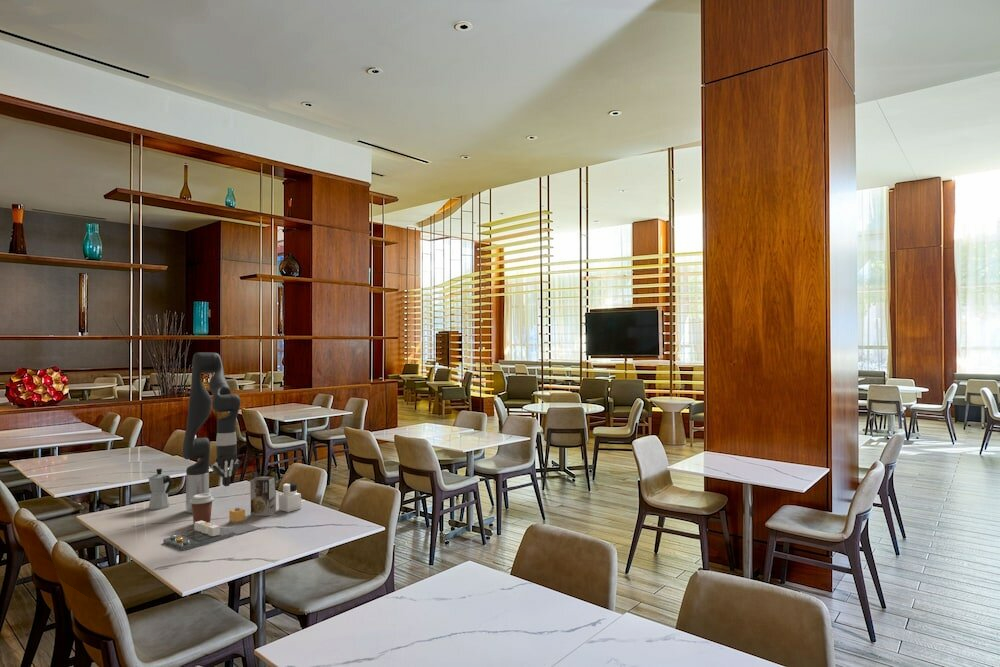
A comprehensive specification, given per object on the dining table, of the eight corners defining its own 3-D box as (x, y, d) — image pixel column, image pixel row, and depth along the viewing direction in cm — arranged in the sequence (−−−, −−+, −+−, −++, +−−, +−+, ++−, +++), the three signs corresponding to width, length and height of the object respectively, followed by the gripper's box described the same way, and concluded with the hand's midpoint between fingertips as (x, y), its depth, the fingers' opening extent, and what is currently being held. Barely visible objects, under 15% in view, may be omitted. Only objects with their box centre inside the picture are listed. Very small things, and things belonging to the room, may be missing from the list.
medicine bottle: (292, 506, 272) (292, 480, 272) (301, 508, 268) (301, 482, 268) (278, 510, 266) (278, 483, 266) (287, 512, 262) (287, 486, 262)
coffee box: (276, 512, 263) (276, 476, 263) (269, 516, 256) (269, 479, 257) (257, 511, 264) (257, 476, 264) (249, 515, 257) (249, 479, 258)
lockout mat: (223, 530, 237) (223, 529, 237) (246, 524, 245) (246, 523, 245) (237, 535, 231) (237, 534, 231) (260, 528, 239) (260, 527, 239)
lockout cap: (229, 522, 248) (229, 508, 248) (239, 519, 252) (239, 506, 252) (235, 524, 246) (235, 510, 246) (245, 521, 249) (245, 507, 249)
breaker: (207, 534, 226) (207, 526, 226) (214, 532, 228) (214, 524, 228) (212, 536, 224) (212, 528, 224) (219, 534, 226) (219, 526, 226)
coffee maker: (140, 508, 270) (141, 469, 271) (158, 503, 278) (158, 466, 279) (163, 511, 264) (163, 472, 265) (180, 506, 273) (180, 468, 273)
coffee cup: (185, 527, 242) (185, 498, 242) (196, 520, 251) (196, 492, 251) (207, 526, 242) (207, 498, 242) (217, 520, 251) (217, 492, 251)
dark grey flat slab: (163, 542, 223) (163, 536, 223) (214, 529, 239) (214, 522, 239) (183, 550, 214) (183, 543, 214) (234, 535, 230) (234, 529, 230)
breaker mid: (201, 532, 229) (201, 523, 229) (208, 530, 231) (208, 521, 231) (205, 534, 227) (205, 525, 227) (212, 532, 229) (212, 523, 229)
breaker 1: (194, 530, 232) (194, 522, 232) (201, 528, 234) (201, 520, 234) (199, 531, 230) (199, 523, 230) (206, 529, 232) (206, 521, 232)
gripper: (236, 440, 244) (236, 481, 243) (205, 444, 233) (205, 488, 232) (246, 441, 239) (246, 483, 239) (215, 446, 229) (215, 490, 228)
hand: (226, 485), depth 236 cm, fingers closed
